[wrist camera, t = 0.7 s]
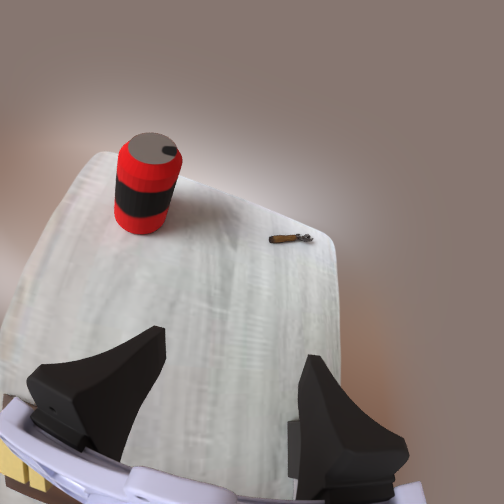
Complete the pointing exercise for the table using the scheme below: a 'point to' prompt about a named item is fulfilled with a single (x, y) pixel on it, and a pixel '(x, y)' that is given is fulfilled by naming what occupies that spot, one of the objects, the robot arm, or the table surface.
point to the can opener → (288, 238)
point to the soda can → (145, 182)
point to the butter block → (12, 465)
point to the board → (54, 497)
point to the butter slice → (38, 481)
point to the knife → (294, 452)
